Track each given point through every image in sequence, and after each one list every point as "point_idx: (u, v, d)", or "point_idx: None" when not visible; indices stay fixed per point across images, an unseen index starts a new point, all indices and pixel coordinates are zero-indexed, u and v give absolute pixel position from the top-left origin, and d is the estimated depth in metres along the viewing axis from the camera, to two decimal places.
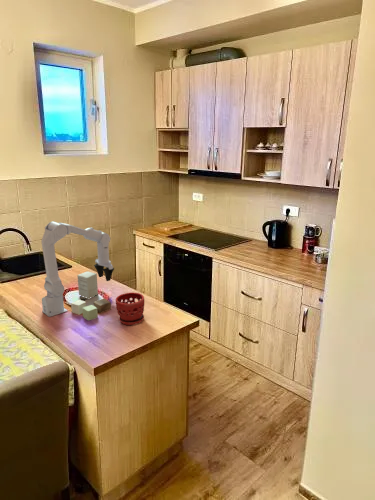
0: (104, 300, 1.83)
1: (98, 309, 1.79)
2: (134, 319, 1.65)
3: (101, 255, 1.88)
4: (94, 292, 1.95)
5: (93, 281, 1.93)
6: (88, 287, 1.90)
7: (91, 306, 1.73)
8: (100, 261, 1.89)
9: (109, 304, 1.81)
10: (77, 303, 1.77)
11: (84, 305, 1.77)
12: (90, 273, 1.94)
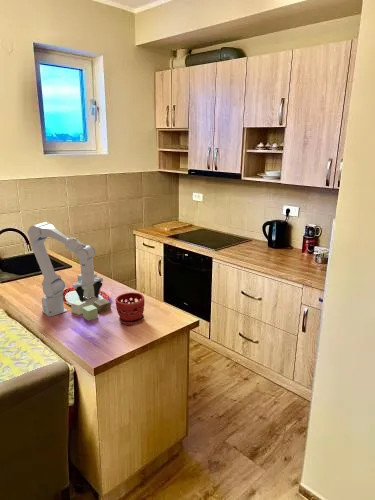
0: (104, 300, 1.83)
1: (98, 309, 1.79)
2: (134, 319, 1.65)
3: (81, 271, 1.65)
4: None
5: None
6: (88, 287, 1.90)
7: (91, 306, 1.73)
8: None
9: (109, 304, 1.80)
10: (77, 303, 1.77)
11: (84, 305, 1.77)
12: None
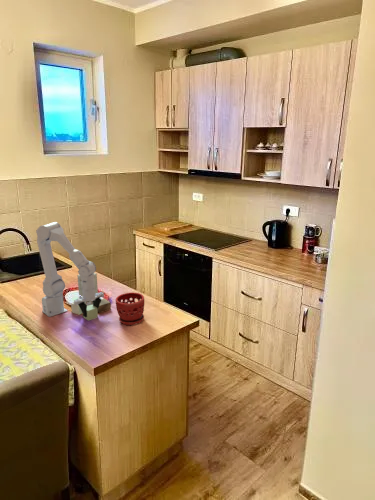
0: (104, 300, 1.83)
1: (98, 309, 1.79)
2: (134, 319, 1.65)
3: (82, 288, 1.68)
4: None
5: None
6: None
7: (91, 306, 1.73)
8: None
9: (109, 304, 1.80)
10: None
11: None
12: None
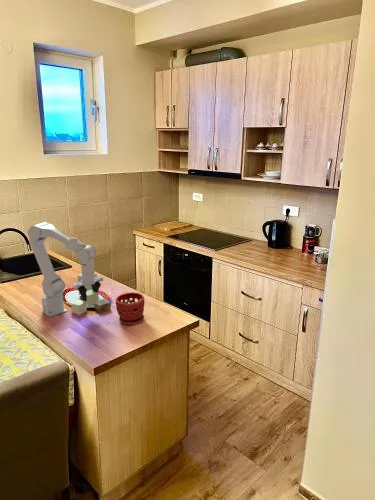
0: (105, 300, 1.82)
1: (98, 309, 1.79)
2: (134, 319, 1.65)
3: None
4: None
5: None
6: (88, 287, 1.90)
7: (91, 291, 1.71)
8: None
9: (109, 304, 1.80)
10: (77, 303, 1.77)
11: (84, 305, 1.77)
12: None
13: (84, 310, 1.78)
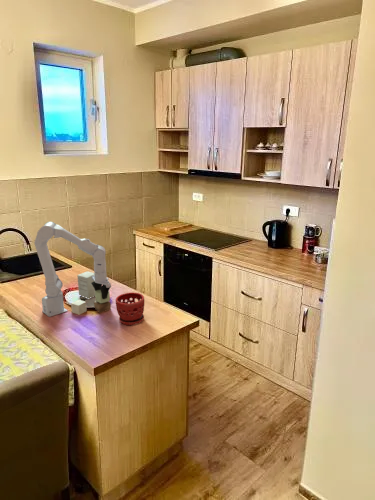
0: None
1: (98, 309, 1.79)
2: (134, 319, 1.65)
3: (95, 271, 1.74)
4: (94, 292, 1.95)
5: (93, 281, 1.93)
6: (88, 287, 1.90)
7: (99, 290, 1.80)
8: (97, 278, 1.75)
9: (109, 304, 1.80)
10: (77, 303, 1.76)
11: (84, 305, 1.77)
12: (90, 273, 1.94)
13: (84, 310, 1.78)
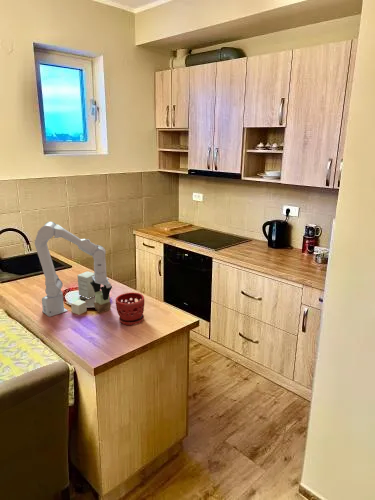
0: None
1: (97, 309, 1.79)
2: (134, 319, 1.65)
3: (95, 272, 1.74)
4: (94, 292, 1.95)
5: None
6: (88, 287, 1.90)
7: (99, 292, 1.80)
8: (97, 279, 1.75)
9: (109, 304, 1.80)
10: (77, 303, 1.76)
11: (84, 305, 1.77)
12: (90, 273, 1.94)
13: (84, 310, 1.78)
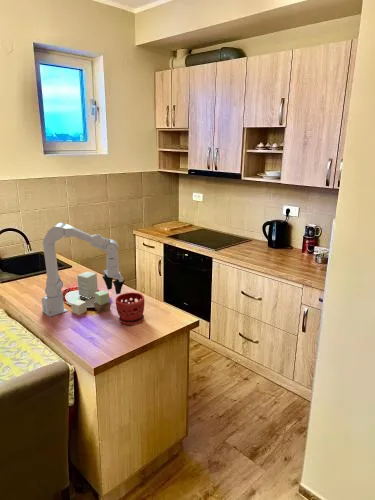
0: None
1: (97, 309, 1.79)
2: (134, 319, 1.65)
3: (107, 266, 1.72)
4: (94, 292, 1.95)
5: (93, 281, 1.93)
6: (88, 287, 1.90)
7: (98, 292, 1.80)
8: (109, 273, 1.73)
9: (108, 304, 1.80)
10: (77, 303, 1.77)
11: (84, 305, 1.77)
12: (90, 273, 1.94)
13: (84, 310, 1.78)
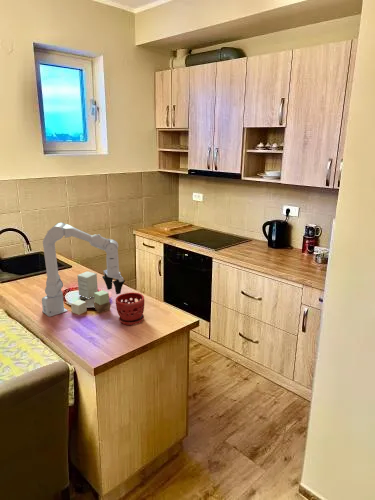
0: None
1: (97, 309, 1.79)
2: (134, 319, 1.65)
3: (107, 266, 1.72)
4: (94, 292, 1.95)
5: (93, 281, 1.93)
6: (88, 287, 1.90)
7: (98, 292, 1.80)
8: (109, 273, 1.73)
9: (108, 304, 1.80)
10: (77, 303, 1.77)
11: (84, 305, 1.77)
12: (90, 273, 1.94)
13: (84, 310, 1.78)
